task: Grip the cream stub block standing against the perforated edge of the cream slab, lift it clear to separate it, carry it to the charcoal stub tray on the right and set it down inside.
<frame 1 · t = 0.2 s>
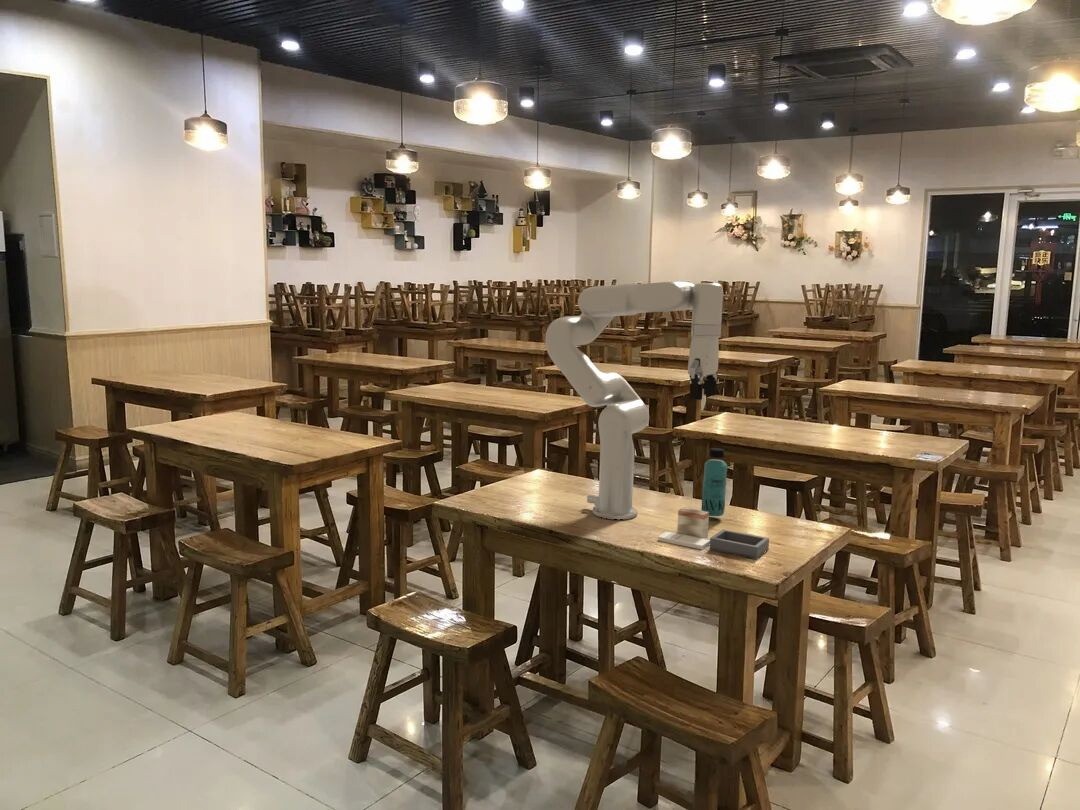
hand: (702, 397, 222), 36 cm above the table, tool pointing down, fingers open, 9 cm apart
tray: (739, 549, 213), on the table
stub: (692, 537, 222), on the table
beverage bottle: (712, 519, 239), on the table
cream slab: (684, 541, 218), on the table
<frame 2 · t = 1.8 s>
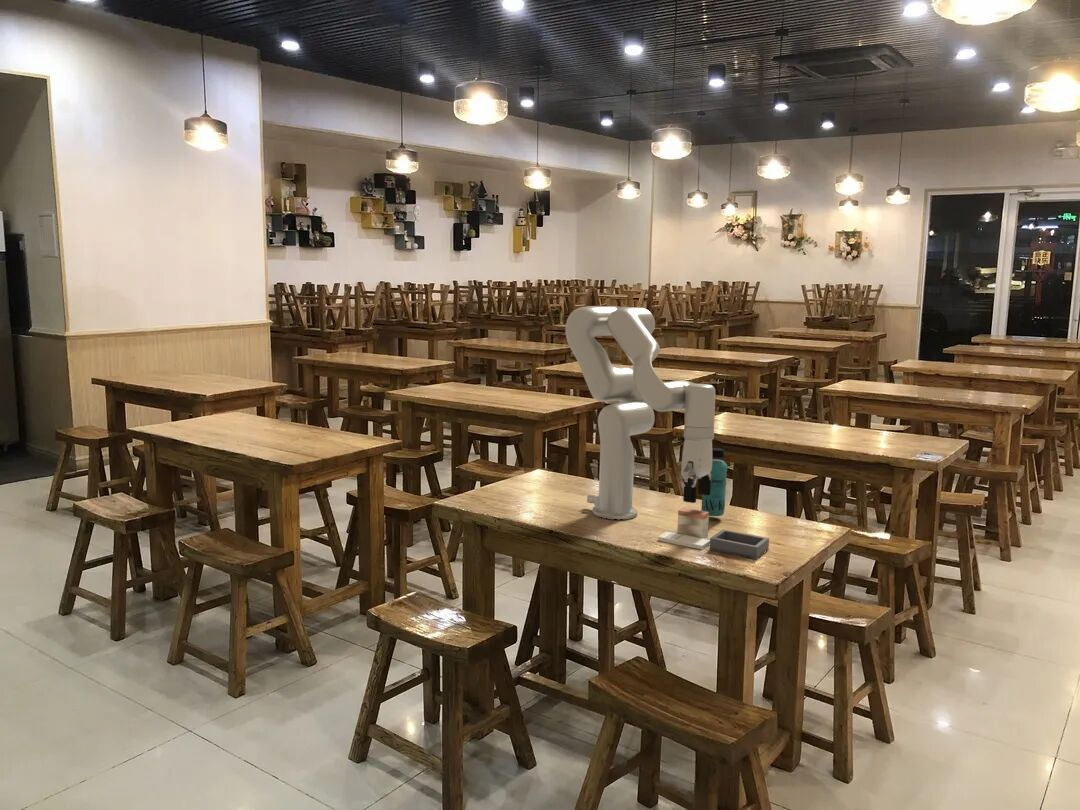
hand: (697, 498, 220), 11 cm above the table, tool pointing down, fingers open, 9 cm apart
nothing on the table moved.
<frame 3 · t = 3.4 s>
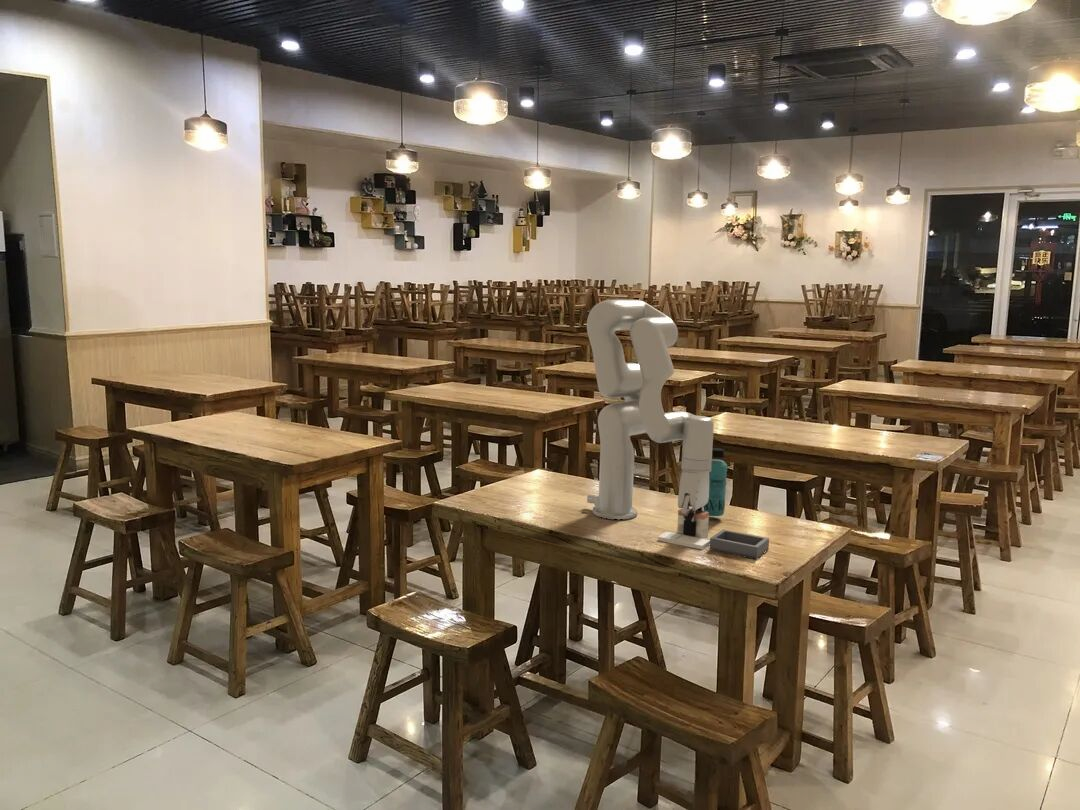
hand: (692, 532, 221), 1 cm above the table, tool pointing down, fingers open, 3 cm apart
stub: (692, 537, 222), on the table, touching gripper
everything else where it was.
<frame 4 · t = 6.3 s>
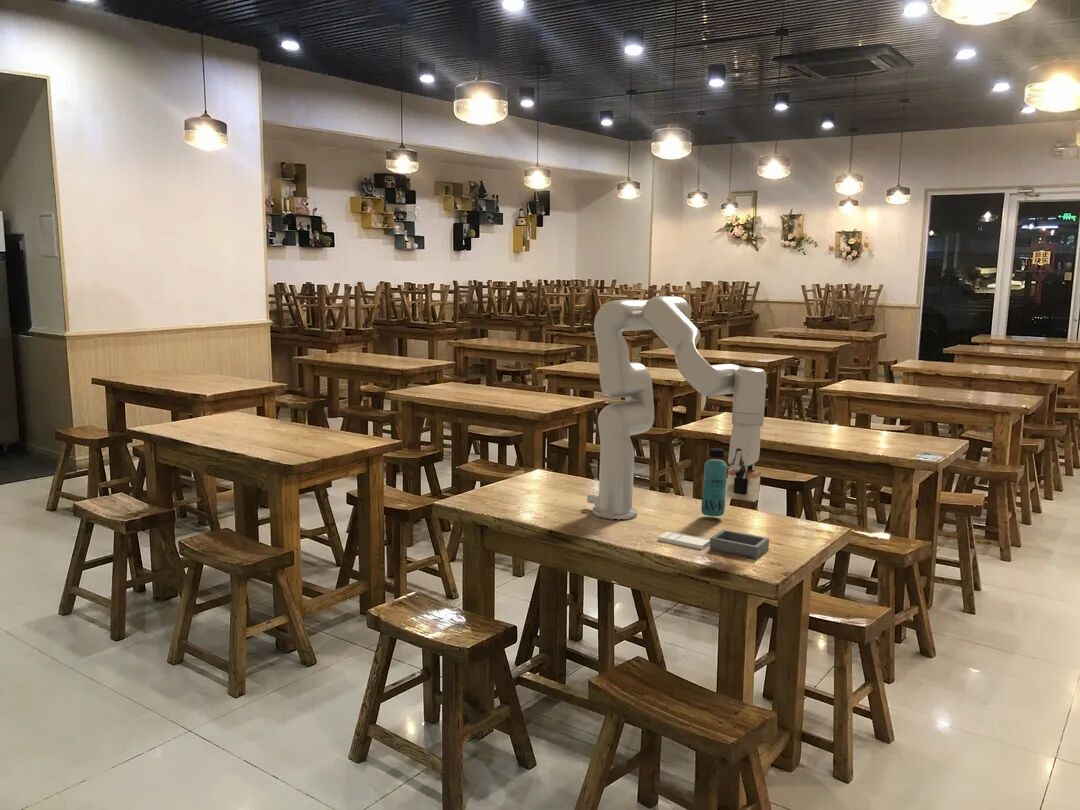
hand: (743, 491, 210), 15 cm above the table, tool pointing down, fingers closed on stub, 3 cm apart
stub: (742, 498, 211), point 13 cm above the table, touching gripper
everything else where it was.
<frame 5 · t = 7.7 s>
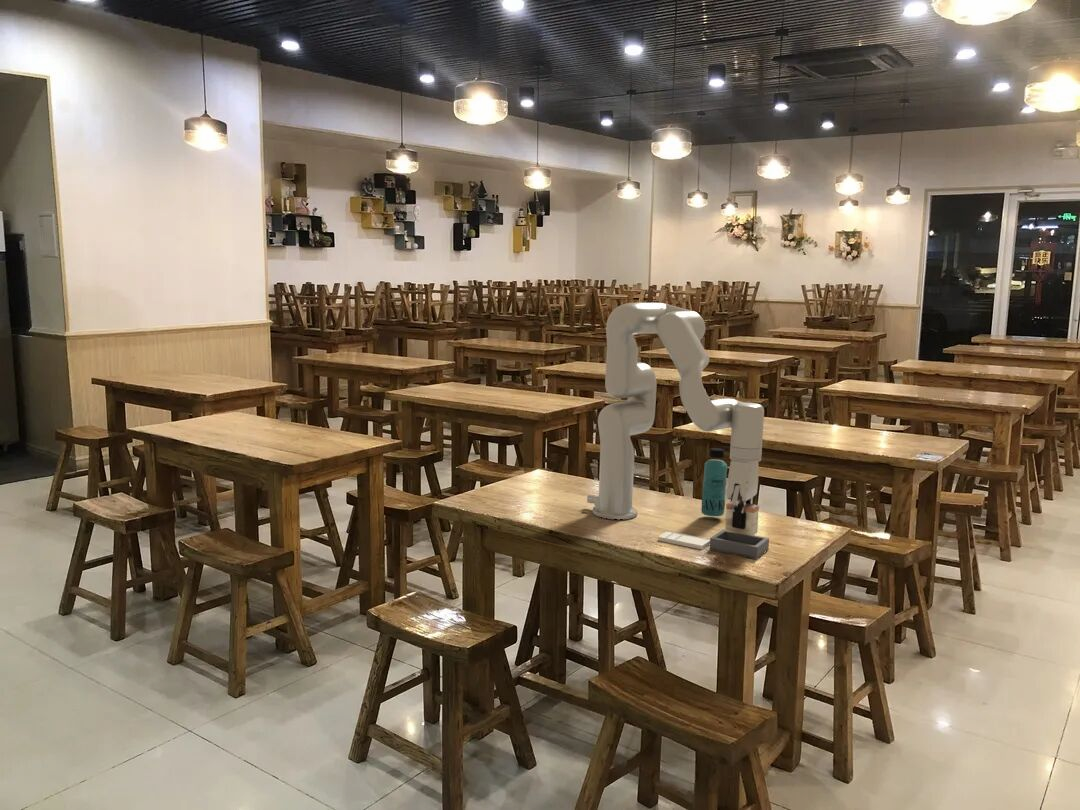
hand: (741, 525, 211), 6 cm above the table, tool pointing down, fingers closed on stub, 3 cm apart
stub: (741, 532, 212), point 5 cm above the table, touching gripper
everything else where it was.
when the fingers open (3 cm above the table, at t = 9.0 s): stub stays where it is, resting on tray.
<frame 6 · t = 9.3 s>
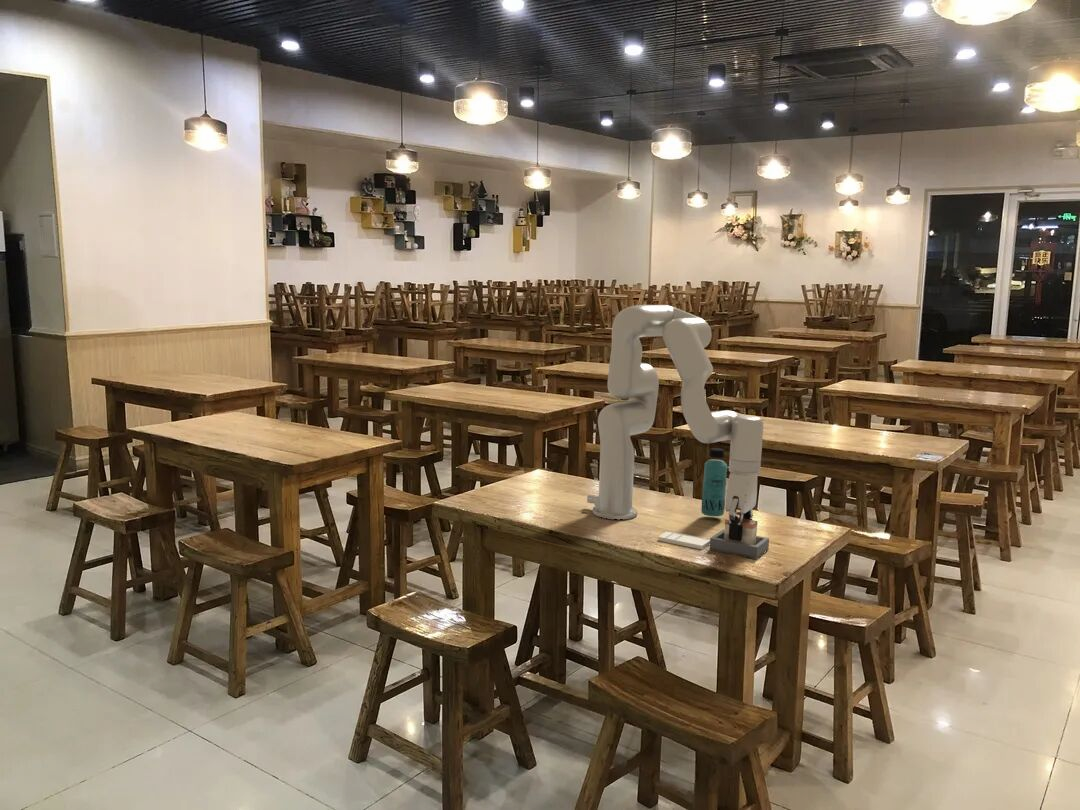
hand: (740, 535, 212), 4 cm above the table, tool pointing down, fingers open, 6 cm apart
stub: (739, 547, 213), point 1 cm above the table, touching tray
everything else where it was.
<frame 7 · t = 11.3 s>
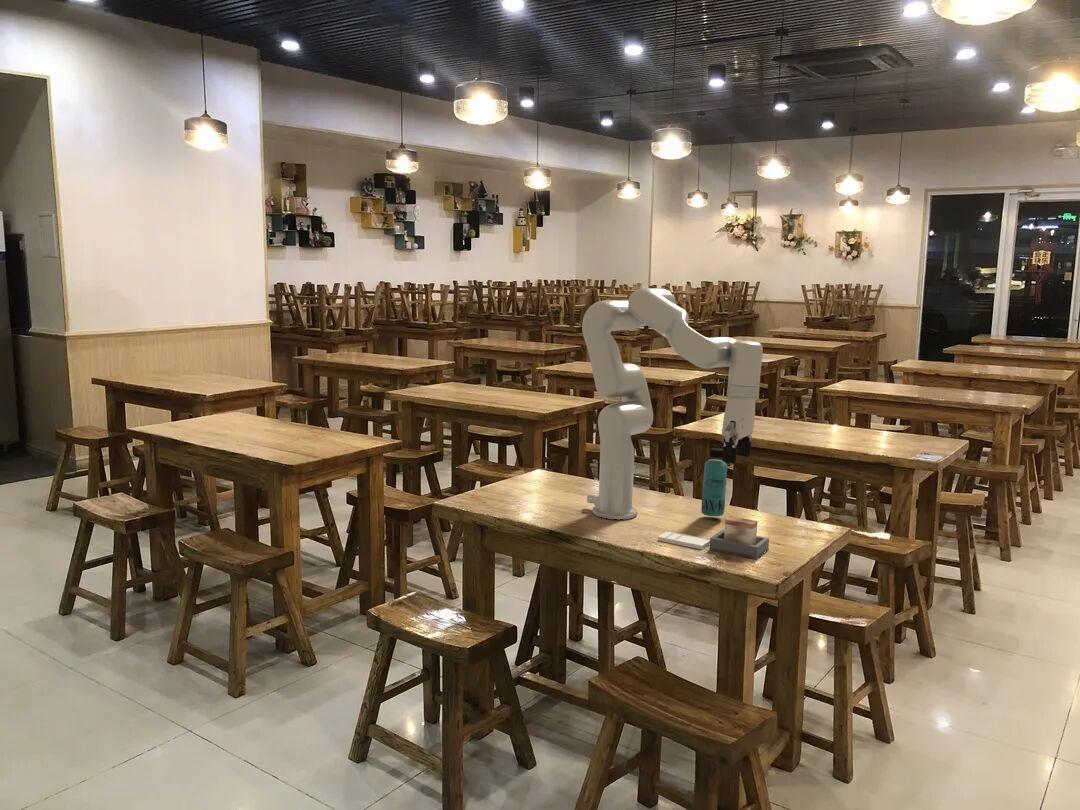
hand: (736, 459, 213), 22 cm above the table, tool pointing down, fingers open, 9 cm apart
nothing on the table moved.
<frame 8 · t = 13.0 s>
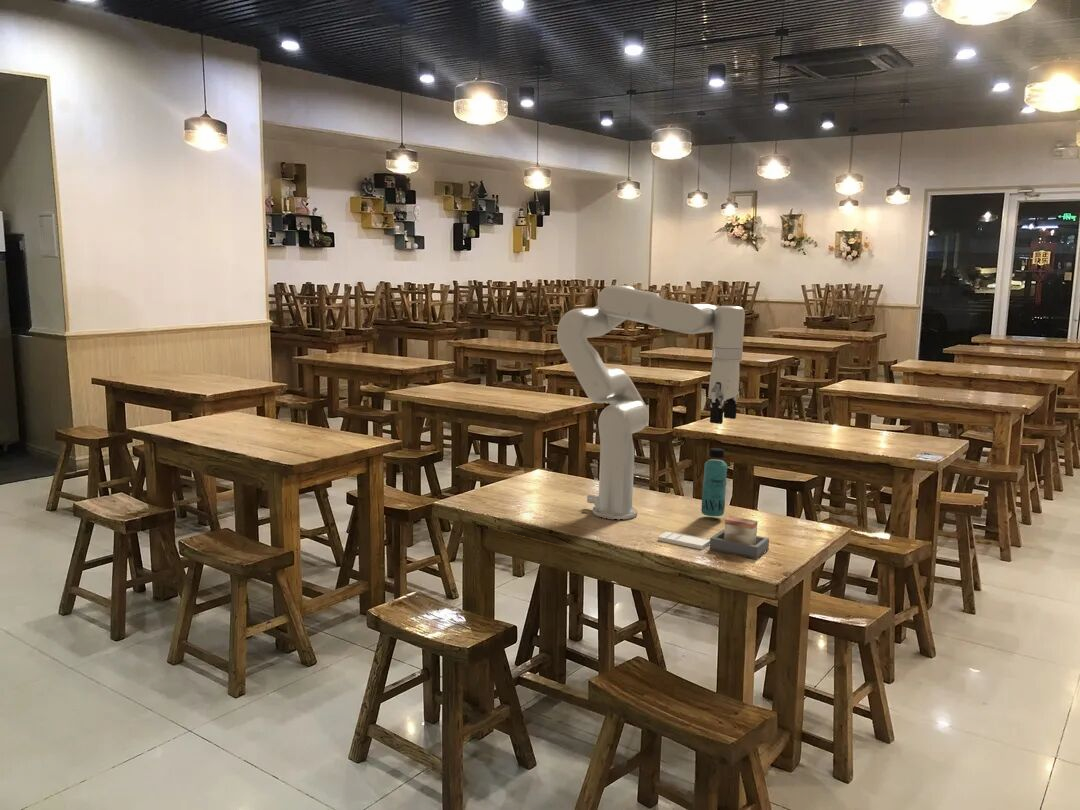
hand: (723, 420, 220), 30 cm above the table, tool pointing down, fingers open, 9 cm apart
nothing on the table moved.
at the end: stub inside the target area on the tray (0.1 cm from its centre), point 0.6 cm above the tray's base; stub moved 13.8 cm from its start; the gripper is holding nothing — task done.
